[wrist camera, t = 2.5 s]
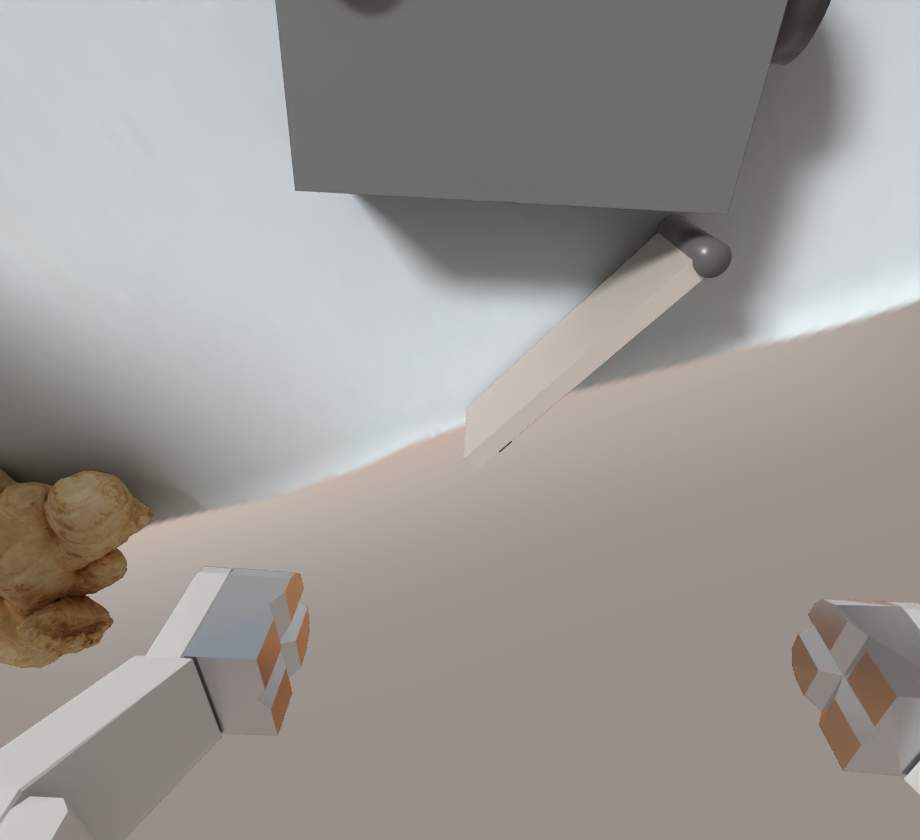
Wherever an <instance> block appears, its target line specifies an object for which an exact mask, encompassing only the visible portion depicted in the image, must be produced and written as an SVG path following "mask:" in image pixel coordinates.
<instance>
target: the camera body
mask: <svg viewBox="0 0 920 840" xmlns="http://www.w3.org/2000/svg"><path fill="white" fill-rule="evenodd" d="M275 1H276V11H277V20H278V30H279V40H280V49H281V59H282V69H283V78H284V88H285V98H286V107H287V117H288V127H289V136H290V146H291V156H292V165H293V175H294V185H295V191H311V192H329V193H348V194H366V195H384V196H402V197H421V198H439V199H457V200H475V201H493V202H512V203H530V204H548V205H566V206H585V207H603V208H621V209H639V210H658V211H676V212H694V213H712V214H727V213H728V210H729V206H730V202H731V199H732V195H733V192H734V188H735V185H736V181H737V178H738V174H739V171H740V167H741V164H742V160H743V157H744V153H745V150H746V146H747V142H748V139H749V135H750V132H751V128H752V125H753V121H754V118H755V114H756V111H757V107H758V104H759V100H760V97H761V93H762V90H763V86H764V82H765V79H766V75H767V72H768V68H769V65H770V64H787V63H789V62H791V61H792V60H793V59H795V58H796V57H797V56H798V55H799V54H800V53H801V52H802V50H803V49H804V48H805V47H806V45H807V44H808V43H809V41H810V40H811V38H812V37H813V35H814V34H815V32H816V30H817V28H818V27H819V25H820V23H821V21H822V19H823V17H824V15H825V13H826V10H827V8H828V6H829V3H830V1H831V0H275Z"/></svg>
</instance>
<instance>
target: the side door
mask: <svg viewBox="0 0 920 840" xmlns="http://www.w3.org/2000/svg"><path fill="white" fill-rule="evenodd" d="M730 262H731V251H730V249H729V247H728V246H727V245H725V244H724V243H722V242H721V241H719V240H717V239H716V238H714V237H713V236H711V235H709V234H708V233H706V232H705V231H703V230H702V229H700V228H698V227H697V226H695V225H694V224H692V223H690V222H689V221H687V220H686V219H684V218H682V217H681V216H678V215H672V216H669V217H667V218H665V219H664V220H663V221H662V222H661V223H660V225H659V227H658V230H657V234H655V235H654V236H653V237H652V238H651V239H650V240H649V241H648V242H647V243H646V244H645V245H644V246H642V247H641V248H640V249H639V250H638V251H637V252H636V253H635V254H634V255H633V256H632V257H630V258H629V259H628V260H627V261H626V262H625V263H624V264H623V265H622V266H621V267H620V268H619V269H617V270H616V271H615V272H614V273H613V274H612V275H611V276H610V277H609V278H608V279H607V280H605V281H604V282H603V283H602V284H601V285H600V286H599V287H598V288H597V289H596V290H595V291H593V292H592V293H591V294H590V295H589V296H588V297H587V298H586V299H585V300H584V301H583V302H582V303H580V304H579V305H578V306H577V307H576V308H575V309H574V310H573V311H572V312H571V313H570V314H568V315H567V316H566V317H565V318H564V319H563V320H562V321H561V322H560V323H559V324H558V325H557V326H555V327H554V328H553V329H552V330H551V331H550V332H549V333H548V334H547V335H546V336H545V337H543V338H542V339H541V340H540V341H539V342H538V343H537V344H536V345H535V346H534V347H533V348H532V349H530V350H529V351H528V352H527V353H526V354H525V355H524V356H523V357H522V358H521V359H520V360H518V361H517V362H516V363H515V364H514V365H513V366H512V367H511V368H510V369H509V370H508V371H507V372H505V373H504V374H503V375H502V376H501V377H500V378H499V379H498V380H497V381H496V382H495V383H493V384H492V385H491V386H490V387H489V388H488V389H487V390H486V391H485V392H484V393H483V394H481V395H480V396H479V397H478V398H477V399H476V400H475V401H474V402H473V403H472V404H471V405H470V406H468V407H467V410H466V426H465V443H464V458H463V459H464V460H465V461H466V462H468V463H469V464H470V465H472V466H473V467H475V469H479V468H480V467H481V466H482V465H483V464H484V463H486V462H487V461H488V460H489V459H490V458H491V457H493V456H494V455H495V454H496V453H497V452H501V451H502V450H503V449H504V448H505V447H506V446H508V445H509V444H510V443H511V442H512V440H513V439H514V438H515V437H516V436H518V435H519V434H520V433H521V432H522V431H523V430H525V429H526V428H527V427H528V426H529V425H531V424H532V423H533V422H534V421H535V420H537V419H538V418H539V417H540V416H541V415H543V414H544V413H545V412H546V411H547V410H548V409H550V408H551V407H552V406H553V405H554V404H555V403H557V402H558V401H559V400H560V399H561V398H563V397H564V396H565V395H566V394H567V393H569V392H570V391H571V390H572V389H573V388H575V387H576V386H577V385H578V384H579V383H580V382H582V381H583V380H584V379H585V378H586V377H588V376H589V375H590V374H591V373H592V372H594V371H595V370H596V369H597V368H598V367H599V366H601V365H602V364H603V363H604V362H605V361H607V360H608V359H609V358H610V357H611V356H612V355H614V354H615V353H616V352H617V351H618V350H620V349H621V348H622V347H623V346H624V345H626V344H627V343H628V342H629V341H630V340H631V339H633V338H634V337H635V336H636V335H637V334H639V333H640V332H641V331H642V330H643V329H645V328H646V327H647V326H648V325H649V324H650V323H652V322H653V321H654V320H655V319H656V318H658V317H659V316H660V315H661V314H662V313H663V312H665V311H666V310H667V309H668V308H669V307H671V306H672V305H673V304H674V303H675V302H677V301H678V300H679V299H680V298H681V297H682V296H684V295H685V294H686V293H687V292H688V291H690V290H691V289H692V288H693V287H694V286H695V285H697V284H698V283H699V282H700V281H701V280H703V279H704V278H713V277H716V276H719V275H720V274H722V273H723V272H724V271H725V270H726V269H727V268H728V266H729V264H730Z"/></svg>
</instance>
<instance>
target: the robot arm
mask: <svg viewBox="0 0 920 840" xmlns="http://www.w3.org/2000/svg"><path fill="white" fill-rule="evenodd" d="M303 589H304V587H303V583H302V579H301V574H298V573H293V572H280V571H268V570H255V569H242V568H223V567H209V566H205V567H204V568H203V569H201V570H200V571H199V572H198V573H196V575H195V576H194V578H193V579H192V581H191V583H190V584H189V586H188V587H187V589H186V591H185V592H184V594H183V595H182V597H181V599H180V600H179V602H178V604H177V605H176V607H175V609H174V610H173V612H172V613H171V615H170V617H169V618H168V620H167V621H166V623H165V625H164V626H163V628H162V629H161V631H160V633H159V634H158V636H157V637H156V639H155V641H154V642H153V644H152V646H151V647H150V649H149V651H148V652H147V654H146V655H135V656H134V657H132V658H131V659H129V660H128V661H126V662H125V663H124V664H122V665H121V666H119V667H118V668H116V669H115V670H113V671H112V672H111V673H109V674H108V675H106V676H105V677H103V678H102V679H101V680H99V681H98V682H96V683H95V684H93V685H92V686H90V687H89V688H87V689H86V690H85V691H83V692H82V693H80V694H79V695H78V696H76V697H74V698H73V699H72V700H70V701H69V702H67V703H66V704H64V705H63V706H61V707H60V708H59V709H57V710H56V711H54V712H53V713H51V714H50V715H48V716H47V717H46V718H44V719H43V720H41V721H40V722H38V723H37V724H36V725H34V726H33V727H31V728H30V729H28V730H27V731H25V732H24V733H23V734H21V735H20V736H18V737H17V738H15V739H14V740H13V741H11V742H10V743H8V744H7V745H5V746H4V747H2V748H1V749H0V840H125V839H126V838H127V837H128V836H129V835H130V834H131V832H132V831H133V830H134V829H135V828H136V827H137V826H138V825H139V824H140V823H141V822H142V821H143V820H144V819H145V818H146V817H147V816H148V815H149V814H150V812H151V811H152V810H153V809H154V808H155V807H156V806H157V805H158V804H159V803H160V802H161V801H162V800H163V799H164V798H165V797H166V796H167V795H168V794H169V792H171V791H172V789H173V788H174V787H175V786H176V785H177V784H178V783H179V782H180V781H181V780H182V779H183V778H184V777H185V776H186V775H187V774H188V773H189V772H190V771H191V769H192V768H193V767H194V766H195V765H196V764H197V763H198V762H199V761H200V760H201V759H202V758H203V757H204V756H205V755H206V754H207V753H208V752H209V751H210V750H211V749H212V747H213V746H214V745H215V744H216V743H217V742H218V741H219V740H220V739H221V738H222V735H221V734H243V735H275V736H277V735H278V734H279V731H280V728H281V725H282V722H283V719H284V716H285V713H286V710H287V707H288V704H289V701H290V698H291V695H292V691H291V687H290V682H289V677H290V676H291V675H292V674H293V673H295V672H296V671H297V670H298V669H299V668H300V667H301V665H302V662H303V658H304V655H305V652H306V648H307V642H308V636H309V614H308V608H307V607H306V606H305V605H304V604H303V603H302V602H301V601H300V597H301V595H302V592H303ZM808 615H809V617H810V619H811V621H812V623H813V625H812V626H810V627H809V628H807V629H805V630H804V631H802V632H800V633H799V634H798V636H797V638H796V641H795V643H794V645H793V647H792V666H793V670H794V673H795V677H796V680H797V682H798V684H799V686H800V688H801V690H802V692H803V694H804V696H805V697H806V698H807V699H809V700H810V701H811V702H812V703H813V704H815V705H816V706H817V707H818V708H819V709H821V710H822V713H821V718H820V722H819V726H820V727H821V729H822V731H823V733H824V735H825V737H826V739H827V741H828V743H829V745H830V747H831V749H832V751H833V752H834V754H835V756H836V758H837V760H838V762H839V764H840V766H841V767H842V770H843V771H851V772H863V773H874V774H885V775H897V776H906V777H905V778H904V780H905V781H906V782H907V783H908V784H909V785H910V786H911V787H912V788H913V789H914V790H915V791H916V792H917V793H918V794H920V603H901V602H889V603H888V602H885V601H863V600H837V599H822V600H820V601H819V602H817V603H815V604H814V605H813V607H812V609H811V611H810V613H809V614H808Z"/></svg>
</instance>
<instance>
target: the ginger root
mask: <svg viewBox="0 0 920 840" xmlns="http://www.w3.org/2000/svg"><path fill="white" fill-rule="evenodd" d="M152 516H153V513H152V511H151V510H150V509H149V507H148V506H146V505H144V504H142V502H141V501H140V500H138V499H136V498H135V497H133V496H132V495H131V493H130V492H129V491H128V489H127V487H126V486H125V484H124V483H123V482H122V481H121V480H120V479H119V478H118V477H117V476H115V475H112V474H107V473H102V472H97V471H81V472H78V473H75V474H73V475H70V476H68V477H66V478H62V479H59V480H58V481H57V482H56V483H55V484H54V485H53V486H51V485H47V484H44V483H39V482H26V483H17V482H16V481H14V480H13V479H12V478H11V477H10V476H9V475H7V474H6V473H5V472H4V471H3V470H2V469H0V663H3V664H8V665H12V666H16V667H20V668H29V667H38V668H42V667H44V666H46V665H48V664H50V663H52V662H55V661H56V660H57V659H58V658H59V657H61V656H62V655H64V654H68V653H77V652H79V651H82V650H83V649H85V648H89V647H91V646H94V645H97V644H98V643H99V642H100V640H101V638H102V636H103V633H104V632H105V630H107V629H108V628H109V627H110V626H111V625H112V624H113V619H112V618H110V615H109V612H108V611H107V610H106V609H105V608H104V607H103V606H101V605H99V604H98V603H96V602H94V601H93V600H91V599H90V598H89V597H88V596H85V595H86V594H93V593H96V592H98V591H99V590H101V589H103V588H105V587H107V586H110V585H112V584H113V583H115V582H116V581H118V580H119V579H121V578H122V577H123V576H124V574H125V572H126V571H127V568H126V566H127V562H126V559H125V557H124V556H123V554H122V553H121V551H119V550H118V549H117V547H119V546H120V545H122V544H123V543H124V542H126V541H127V540H128V538H129V536H131V535H132V534H134V533H136V532H138V531H140V530H141V529H142V528H144V527H145V526H146V525H147V524H148V523H149V522H150V520H151V519H152Z"/></svg>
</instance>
